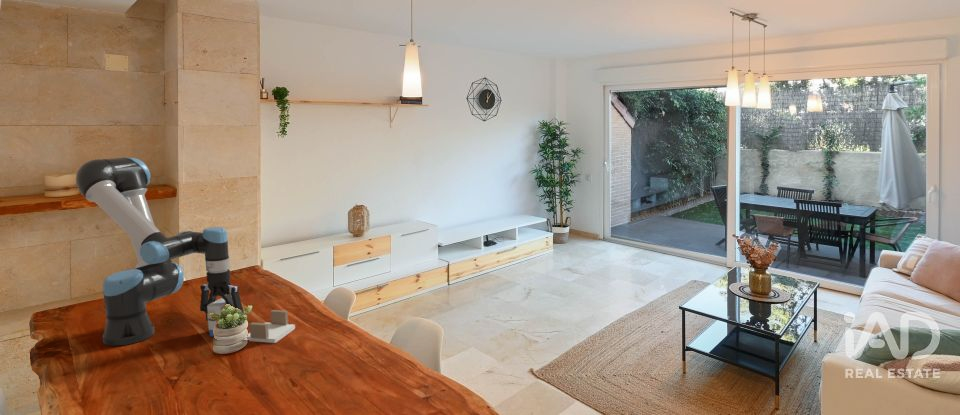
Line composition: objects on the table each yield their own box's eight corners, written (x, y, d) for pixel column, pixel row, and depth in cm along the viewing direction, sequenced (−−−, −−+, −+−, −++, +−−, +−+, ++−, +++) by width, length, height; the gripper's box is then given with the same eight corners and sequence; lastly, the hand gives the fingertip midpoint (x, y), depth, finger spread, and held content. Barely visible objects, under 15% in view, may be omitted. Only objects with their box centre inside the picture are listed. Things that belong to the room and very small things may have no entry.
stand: (243, 341, 175) (241, 323, 174) (266, 325, 188) (265, 309, 187) (274, 343, 173) (273, 326, 172) (295, 327, 186) (294, 311, 185)
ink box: (221, 337, 178) (218, 306, 176) (209, 336, 179) (206, 305, 177) (237, 328, 186) (234, 298, 184) (225, 327, 187) (223, 297, 185)
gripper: (184, 271, 177) (190, 332, 180) (237, 275, 173) (242, 336, 177) (199, 266, 184) (204, 324, 188) (251, 269, 180) (255, 328, 184)
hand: (223, 330), depth 182 cm, fingers open, 8 cm apart
